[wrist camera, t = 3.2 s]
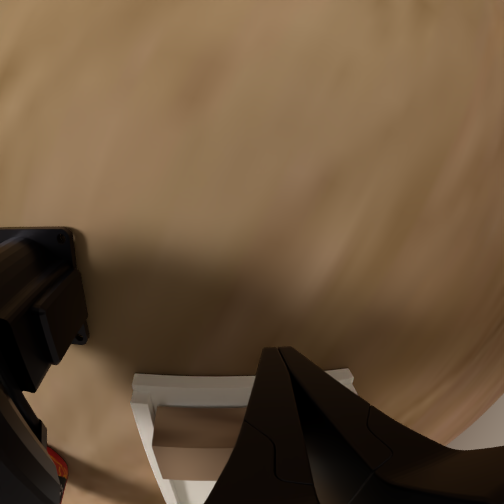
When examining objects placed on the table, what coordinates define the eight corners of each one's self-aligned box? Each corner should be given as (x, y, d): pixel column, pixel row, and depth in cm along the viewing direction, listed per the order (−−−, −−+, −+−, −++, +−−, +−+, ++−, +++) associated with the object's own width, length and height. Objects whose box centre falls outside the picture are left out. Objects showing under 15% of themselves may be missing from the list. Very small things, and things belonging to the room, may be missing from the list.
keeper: (165, 443, 17) (162, 479, 14) (156, 406, 15) (151, 445, 13) (317, 436, 18) (329, 469, 15) (330, 399, 17) (346, 435, 14)
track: (178, 515, 24) (178, 542, 20) (134, 373, 16) (121, 423, 12) (291, 510, 25) (297, 536, 22) (348, 368, 18) (373, 411, 14)
